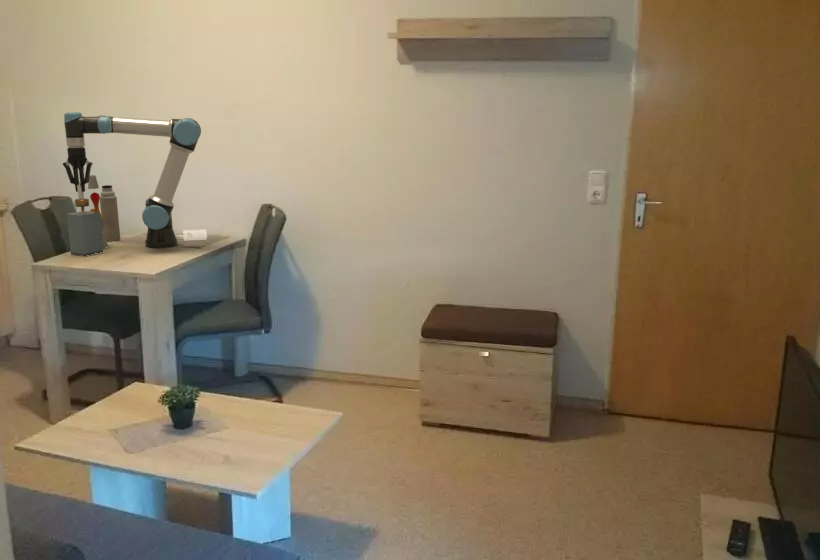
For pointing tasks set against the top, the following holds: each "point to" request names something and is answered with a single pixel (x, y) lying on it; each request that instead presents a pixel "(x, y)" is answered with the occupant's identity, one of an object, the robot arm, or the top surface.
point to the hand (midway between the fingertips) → (81, 198)
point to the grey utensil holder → (85, 233)
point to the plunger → (82, 204)
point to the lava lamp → (97, 205)
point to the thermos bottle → (110, 214)
